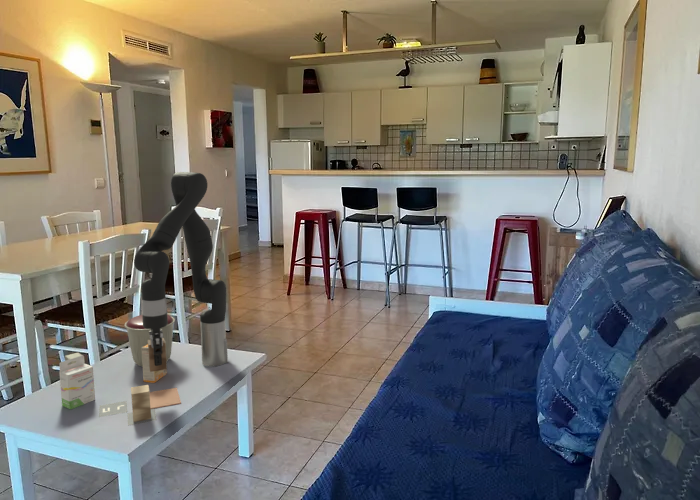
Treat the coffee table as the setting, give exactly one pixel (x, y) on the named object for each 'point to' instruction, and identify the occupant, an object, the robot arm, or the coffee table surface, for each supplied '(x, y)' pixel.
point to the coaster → (164, 398)
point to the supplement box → (148, 375)
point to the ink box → (76, 383)
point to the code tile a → (112, 408)
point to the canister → (146, 337)
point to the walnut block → (151, 357)
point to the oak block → (141, 403)
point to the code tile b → (153, 418)
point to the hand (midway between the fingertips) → (157, 361)
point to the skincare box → (73, 357)
